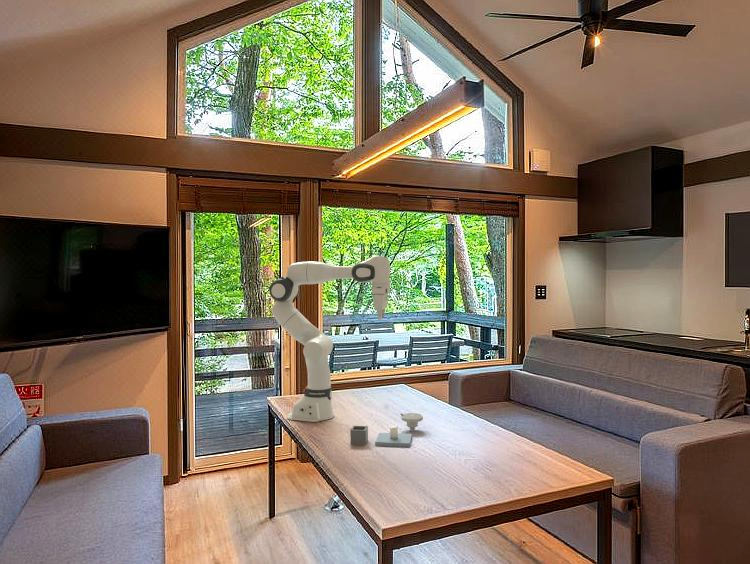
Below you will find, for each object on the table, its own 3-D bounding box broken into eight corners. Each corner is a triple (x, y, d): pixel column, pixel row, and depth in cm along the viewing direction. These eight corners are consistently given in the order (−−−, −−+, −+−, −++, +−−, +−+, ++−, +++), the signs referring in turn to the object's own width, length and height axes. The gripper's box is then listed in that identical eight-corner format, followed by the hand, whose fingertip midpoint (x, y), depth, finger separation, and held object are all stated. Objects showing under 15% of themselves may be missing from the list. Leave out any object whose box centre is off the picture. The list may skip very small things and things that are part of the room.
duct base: (375, 445, 212) (374, 430, 211) (379, 436, 224) (379, 422, 223) (409, 447, 210) (409, 432, 209) (412, 437, 221) (411, 423, 221)
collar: (350, 444, 213) (350, 430, 213) (353, 439, 219) (353, 425, 219) (365, 445, 212) (365, 430, 212) (368, 440, 218) (367, 426, 218)
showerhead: (401, 410, 237) (423, 411, 235) (401, 426, 237) (424, 427, 235) (398, 416, 228) (421, 417, 226) (398, 432, 228) (421, 434, 226)
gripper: (377, 288, 259) (377, 316, 259) (371, 290, 239) (371, 320, 239) (390, 288, 258) (390, 316, 258) (384, 290, 238) (385, 320, 238)
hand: (381, 318), depth 248 cm, fingers open, 8 cm apart
